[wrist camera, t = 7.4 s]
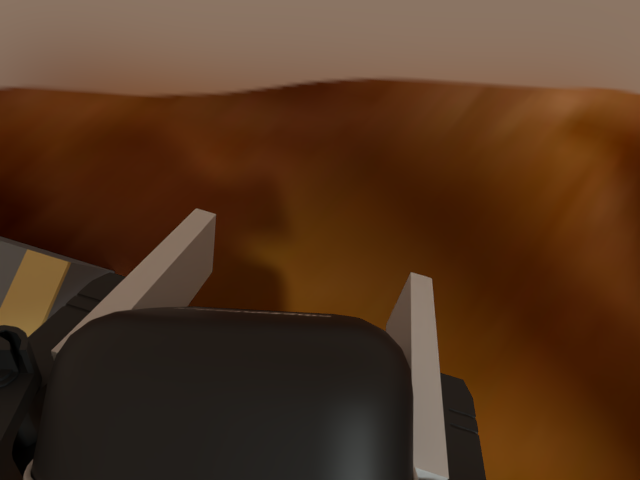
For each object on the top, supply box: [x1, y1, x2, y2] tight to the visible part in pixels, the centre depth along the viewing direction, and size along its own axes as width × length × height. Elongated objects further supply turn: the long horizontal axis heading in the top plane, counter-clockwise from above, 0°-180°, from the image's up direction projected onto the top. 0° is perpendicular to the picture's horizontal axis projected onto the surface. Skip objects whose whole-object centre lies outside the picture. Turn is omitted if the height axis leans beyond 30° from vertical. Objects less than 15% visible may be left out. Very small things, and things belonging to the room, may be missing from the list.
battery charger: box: [23, 307, 418, 480], centre depth 11 cm, size 7×4×11 cm, turn 87°
